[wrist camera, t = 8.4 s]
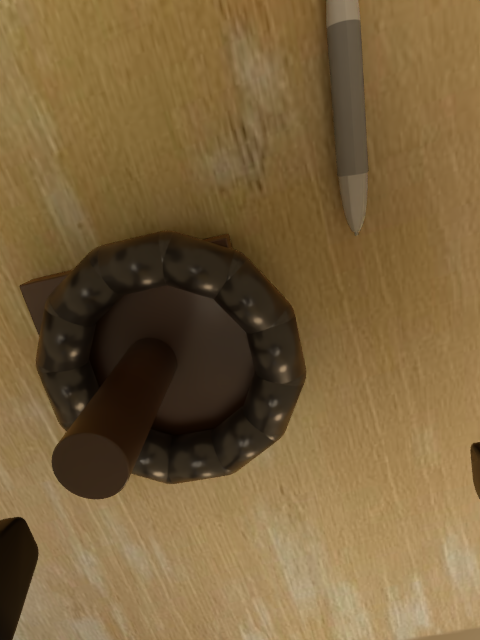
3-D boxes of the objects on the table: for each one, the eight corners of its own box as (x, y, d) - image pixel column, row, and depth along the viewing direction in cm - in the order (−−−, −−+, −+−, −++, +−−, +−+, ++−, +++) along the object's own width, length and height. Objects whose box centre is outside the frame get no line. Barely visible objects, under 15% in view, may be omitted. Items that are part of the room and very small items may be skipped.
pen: (336, -294, 12) (345, -352, 11) (366, 229, 16) (375, 235, 15) (298, -285, 12) (302, -340, 11) (338, 233, 17) (344, 239, 15)
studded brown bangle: (321, 441, 18) (326, 469, 17) (99, 478, 19) (83, 508, 18) (271, 202, 15) (272, 207, 14) (14, 263, 17) (-15, 275, 15)
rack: (273, 418, 19) (278, 566, 12) (98, 449, 20) (7, 604, 13) (228, 233, 17) (201, 283, 10) (31, 279, 18) (-125, 355, 11)
